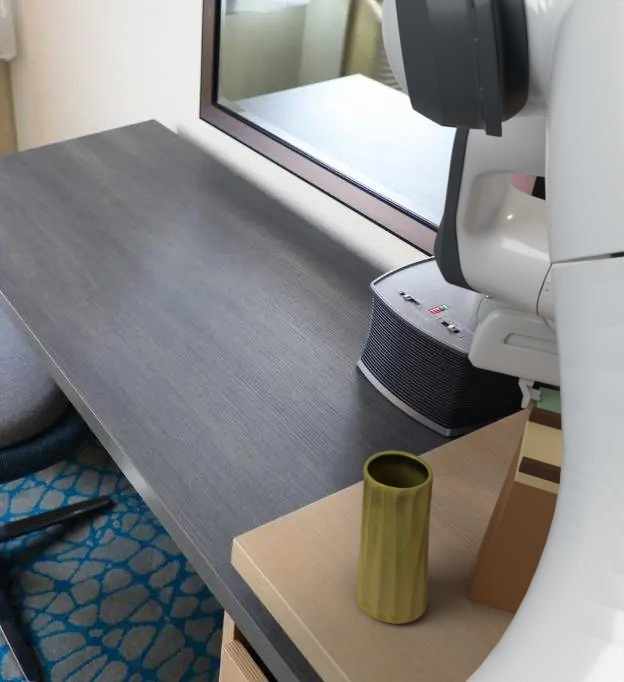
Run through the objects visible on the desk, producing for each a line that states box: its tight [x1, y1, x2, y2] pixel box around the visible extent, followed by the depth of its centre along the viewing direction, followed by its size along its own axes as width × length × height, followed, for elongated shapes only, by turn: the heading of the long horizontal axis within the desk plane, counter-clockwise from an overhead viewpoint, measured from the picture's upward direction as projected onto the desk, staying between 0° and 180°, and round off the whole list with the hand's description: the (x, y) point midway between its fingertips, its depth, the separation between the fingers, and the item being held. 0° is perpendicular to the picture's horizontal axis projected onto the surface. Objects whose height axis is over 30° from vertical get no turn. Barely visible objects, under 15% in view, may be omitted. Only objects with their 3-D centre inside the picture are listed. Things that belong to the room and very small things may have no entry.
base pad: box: [467, 406, 562, 615], centre depth 65 cm, size 7×5×18 cm
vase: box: [353, 450, 434, 625], centre depth 66 cm, size 6×6×14 cm
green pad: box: [537, 386, 561, 414], centre depth 85 cm, size 4×4×3 cm
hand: (555, 412), depth 85 cm, fingers closed on green pad, 4 cm apart
